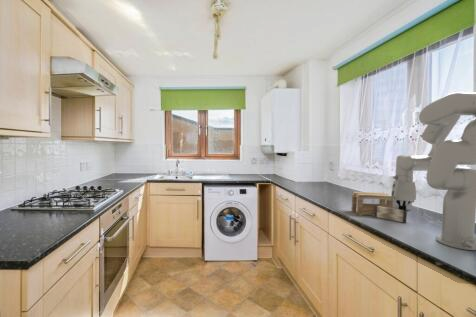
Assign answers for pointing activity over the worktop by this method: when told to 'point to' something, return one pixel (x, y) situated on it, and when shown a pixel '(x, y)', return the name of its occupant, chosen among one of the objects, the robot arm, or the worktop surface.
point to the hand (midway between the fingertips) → (402, 212)
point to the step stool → (369, 208)
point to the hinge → (396, 206)
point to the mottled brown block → (391, 213)
